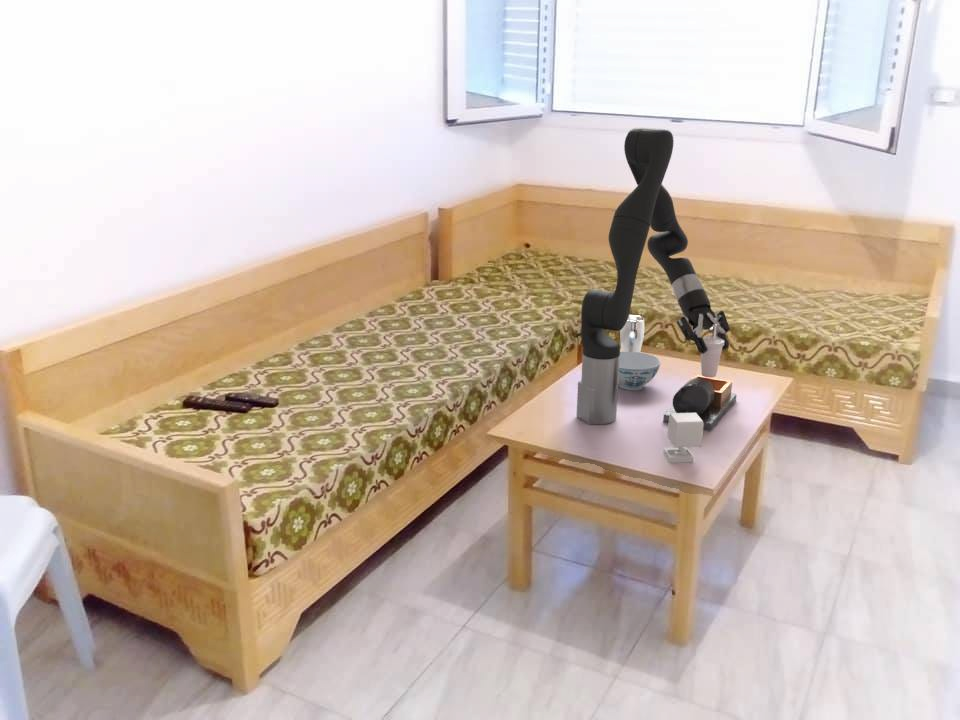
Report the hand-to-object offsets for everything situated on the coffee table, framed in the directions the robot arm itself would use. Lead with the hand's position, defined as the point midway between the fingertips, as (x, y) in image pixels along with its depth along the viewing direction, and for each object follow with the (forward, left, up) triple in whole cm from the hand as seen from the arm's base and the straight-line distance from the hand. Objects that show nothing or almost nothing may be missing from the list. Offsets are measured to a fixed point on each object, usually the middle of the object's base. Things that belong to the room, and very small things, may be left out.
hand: (715, 350), depth 233 cm
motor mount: (-4, -1, -16) cm, 16 cm away
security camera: (-26, -22, -16) cm, 38 cm away
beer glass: (-1, +36, -16) cm, 39 cm away
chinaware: (-10, +22, -16) cm, 29 cm away
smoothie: (0, +2, -8) cm, 8 cm away
